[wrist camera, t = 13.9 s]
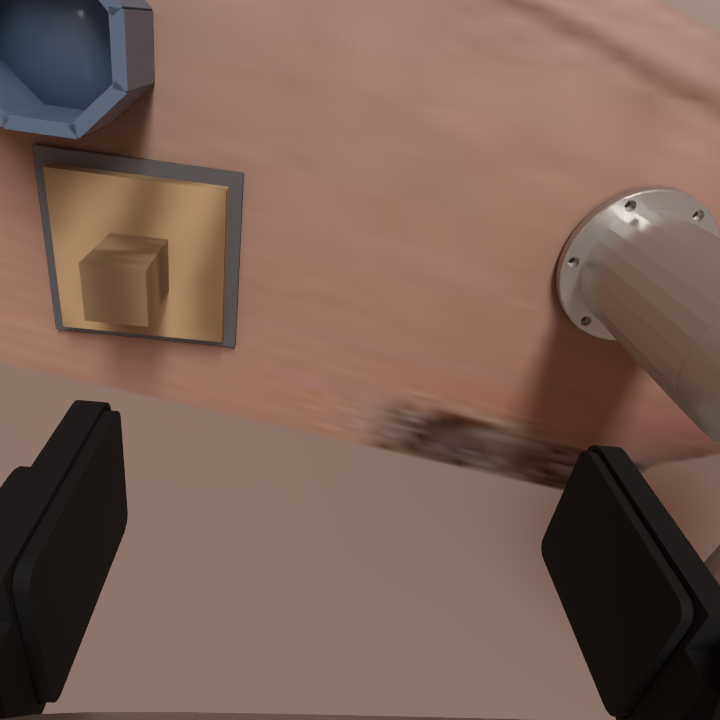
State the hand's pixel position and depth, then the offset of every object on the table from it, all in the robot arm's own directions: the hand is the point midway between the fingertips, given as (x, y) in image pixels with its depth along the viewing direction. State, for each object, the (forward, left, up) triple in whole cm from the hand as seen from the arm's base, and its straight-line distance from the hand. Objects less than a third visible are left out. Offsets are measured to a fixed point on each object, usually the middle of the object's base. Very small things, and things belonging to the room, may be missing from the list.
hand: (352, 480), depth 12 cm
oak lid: (+13, +9, -33) cm, 36 cm away
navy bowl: (+17, -5, -33) cm, 38 cm away
